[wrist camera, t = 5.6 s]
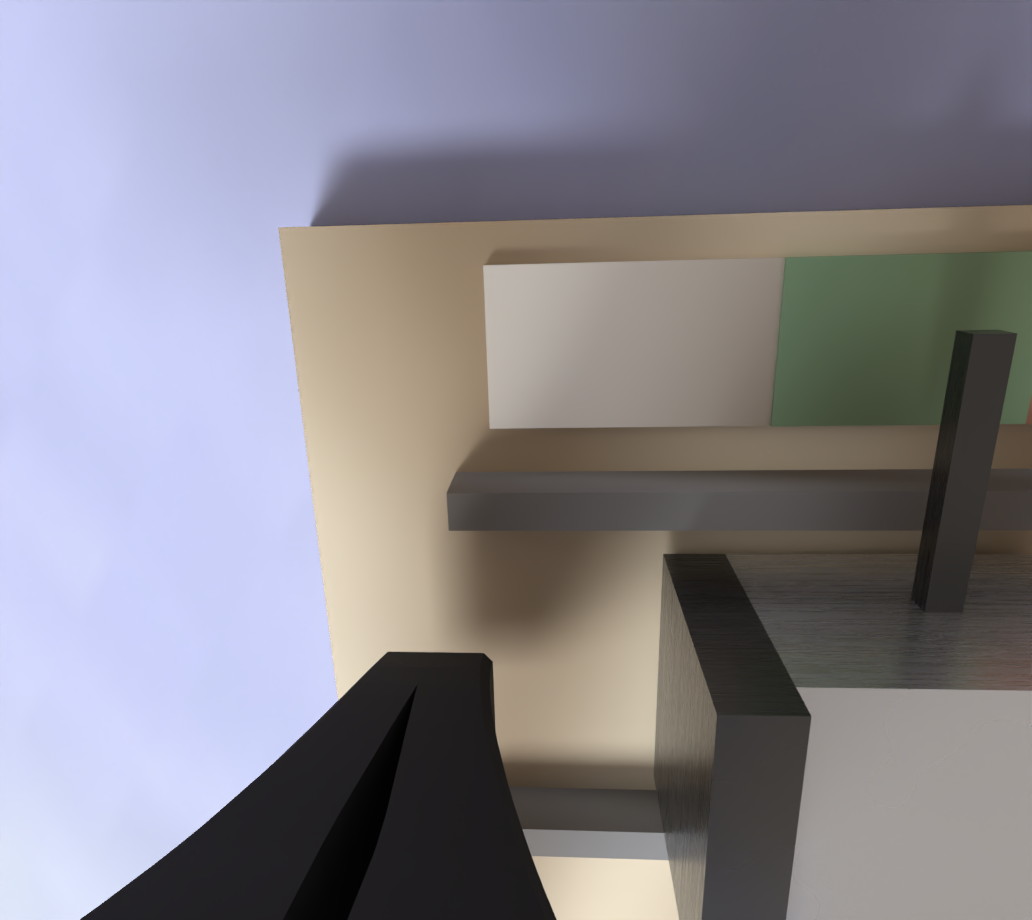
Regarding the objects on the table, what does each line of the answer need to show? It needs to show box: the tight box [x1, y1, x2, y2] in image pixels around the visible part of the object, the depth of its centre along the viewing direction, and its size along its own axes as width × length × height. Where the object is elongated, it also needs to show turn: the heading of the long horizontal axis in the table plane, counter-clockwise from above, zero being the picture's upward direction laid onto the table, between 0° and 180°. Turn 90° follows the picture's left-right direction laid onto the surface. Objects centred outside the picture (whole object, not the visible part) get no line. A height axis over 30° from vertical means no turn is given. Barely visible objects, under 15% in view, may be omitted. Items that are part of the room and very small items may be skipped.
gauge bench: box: [279, 205, 1032, 920], centre depth 8 cm, size 17×12×5 cm
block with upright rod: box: [654, 330, 1032, 920], centre depth 7 cm, size 5×7×3 cm
